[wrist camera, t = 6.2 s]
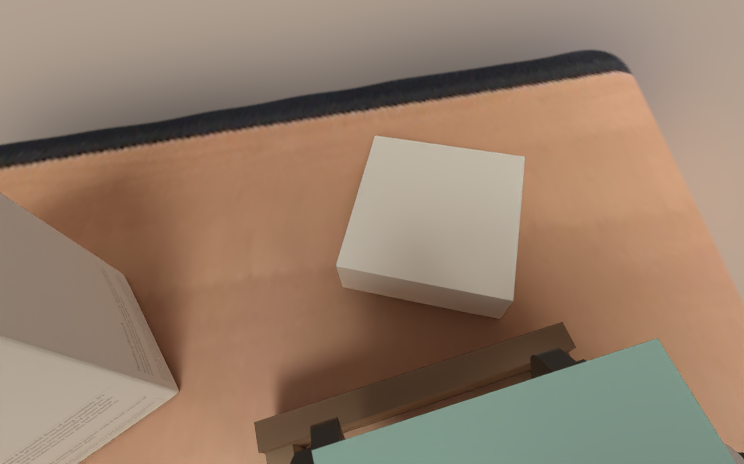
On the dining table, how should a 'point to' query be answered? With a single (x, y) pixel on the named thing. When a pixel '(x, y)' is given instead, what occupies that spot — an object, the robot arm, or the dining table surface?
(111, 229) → the dining table surface
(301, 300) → the dining table surface
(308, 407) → the square wooden frame
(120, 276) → the supplement box
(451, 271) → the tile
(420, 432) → the tall block
